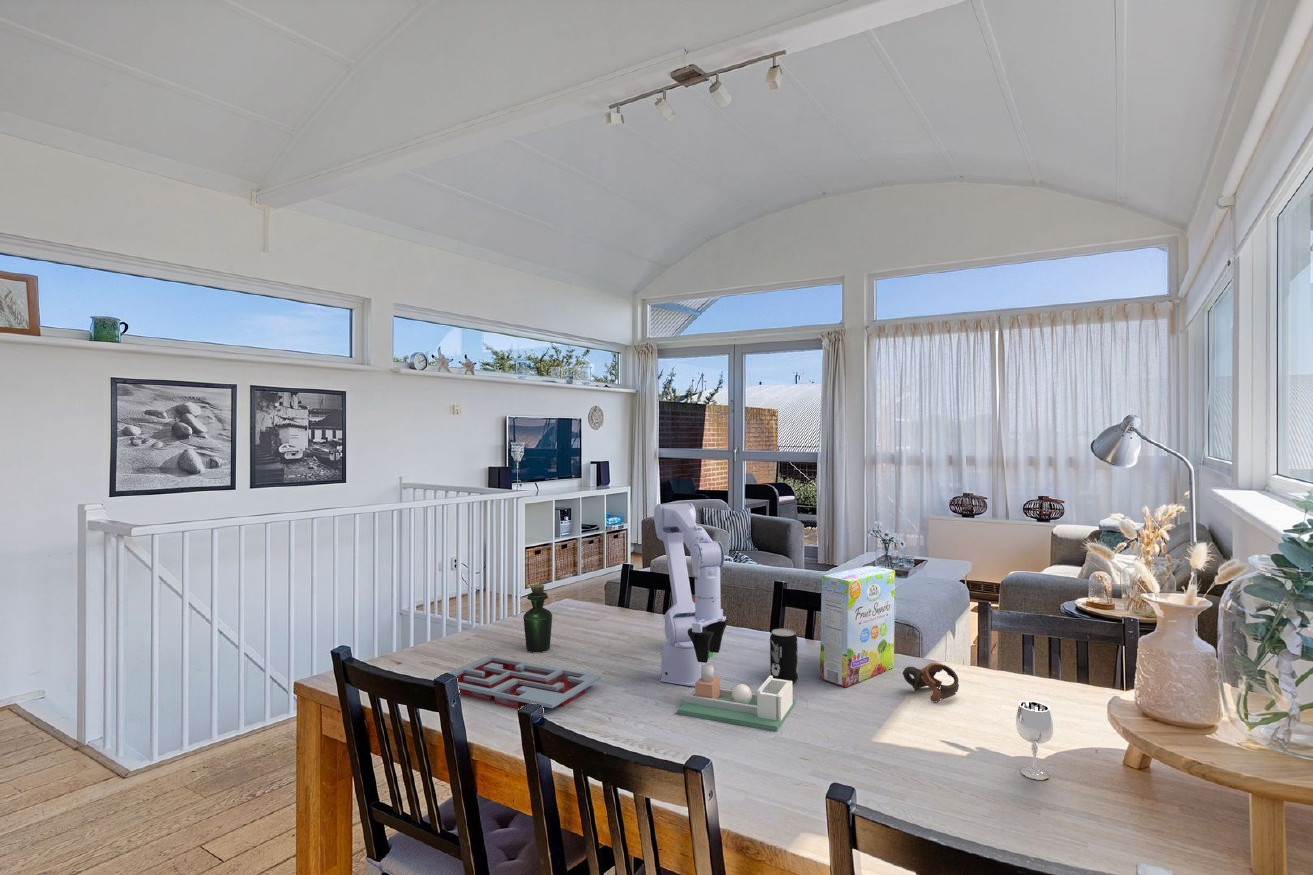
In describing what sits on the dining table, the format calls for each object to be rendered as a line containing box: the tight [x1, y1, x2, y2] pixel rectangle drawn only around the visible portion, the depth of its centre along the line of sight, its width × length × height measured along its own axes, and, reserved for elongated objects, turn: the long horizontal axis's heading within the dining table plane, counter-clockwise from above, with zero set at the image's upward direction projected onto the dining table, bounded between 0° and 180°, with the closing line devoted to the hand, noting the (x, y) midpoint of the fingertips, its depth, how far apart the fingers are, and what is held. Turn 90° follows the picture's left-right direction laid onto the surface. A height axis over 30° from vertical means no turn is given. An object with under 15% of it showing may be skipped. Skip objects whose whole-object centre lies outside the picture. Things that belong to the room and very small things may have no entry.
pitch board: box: [677, 686, 797, 732], centre depth 152 cm, size 22×16×2 cm
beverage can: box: [769, 628, 799, 685], centre depth 169 cm, size 7×7×12 cm
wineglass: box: [1015, 700, 1054, 775], centre depth 121 cm, size 6×6×12 cm
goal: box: [756, 674, 794, 721], centre depth 148 cm, size 5×10×6 cm, turn 155°
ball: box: [732, 683, 753, 704], centre depth 151 cm, size 4×4×4 cm
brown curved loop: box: [902, 662, 960, 703], centre depth 158 cm, size 12×10×8 cm
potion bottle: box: [523, 584, 553, 653], centre depth 195 cm, size 8×8×18 cm
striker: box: [694, 664, 721, 699], centre depth 155 cm, size 4×5×7 cm
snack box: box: [819, 565, 896, 688], centre depth 173 cm, size 22×9×26 cm, turn 131°
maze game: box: [433, 655, 602, 709], centre depth 165 cm, size 35×20×3 cm, turn 62°
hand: (708, 656), depth 154 cm, fingers open, 7 cm apart
